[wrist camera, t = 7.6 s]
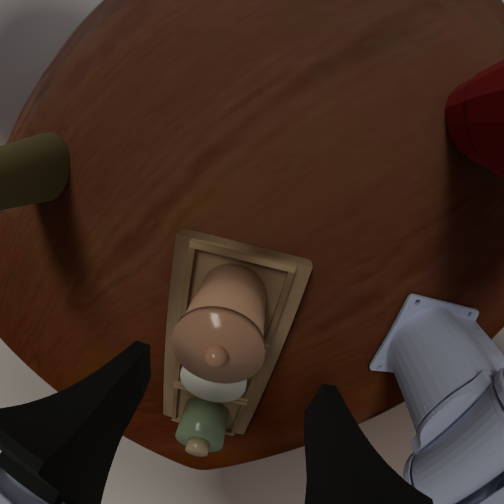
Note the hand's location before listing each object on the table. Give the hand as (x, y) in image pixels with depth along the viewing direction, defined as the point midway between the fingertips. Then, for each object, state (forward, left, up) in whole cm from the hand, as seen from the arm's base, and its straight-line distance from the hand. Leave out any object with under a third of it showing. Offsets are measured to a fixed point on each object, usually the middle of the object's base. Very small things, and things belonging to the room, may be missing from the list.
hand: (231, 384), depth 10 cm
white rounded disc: (+1, +8, -9) cm, 12 cm away
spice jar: (+1, +1, -9) cm, 9 cm away
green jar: (+1, +15, -9) cm, 17 cm away
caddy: (+1, +8, -10) cm, 13 cm away
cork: (+19, -5, -10) cm, 22 cm away
